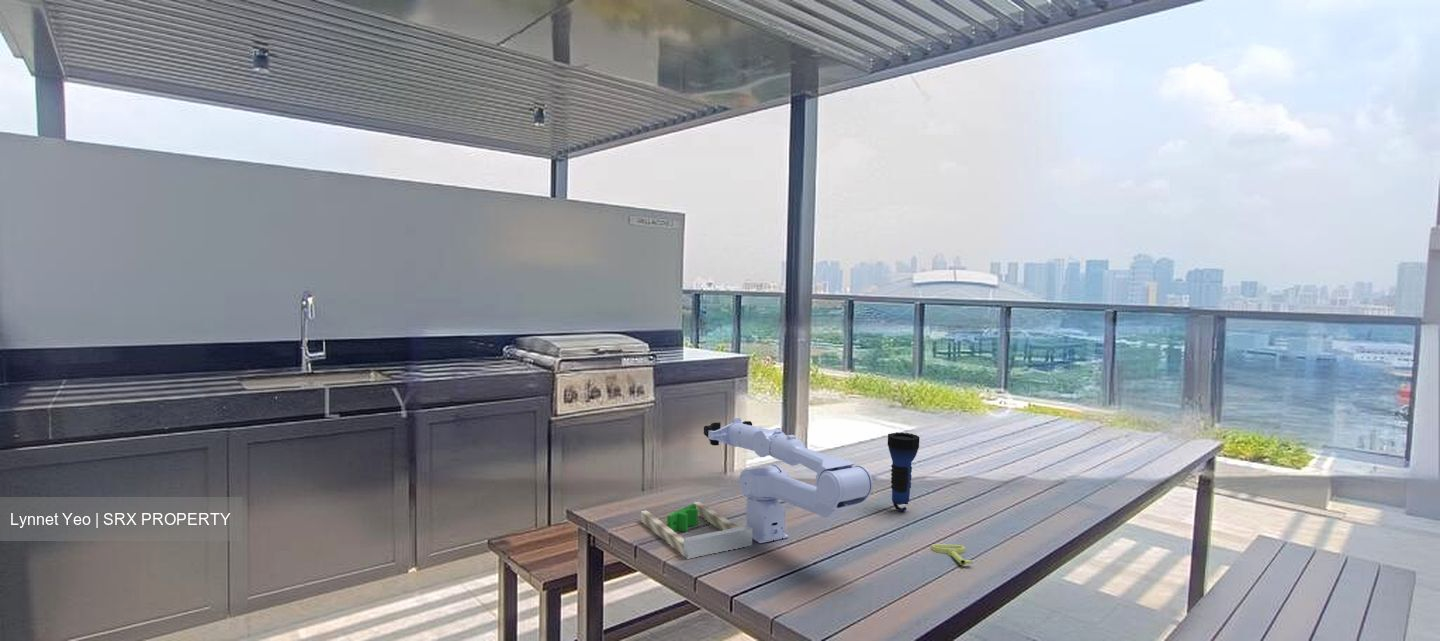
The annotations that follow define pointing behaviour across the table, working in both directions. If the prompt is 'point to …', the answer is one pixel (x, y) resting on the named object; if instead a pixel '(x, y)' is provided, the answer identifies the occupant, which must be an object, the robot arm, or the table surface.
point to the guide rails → (676, 539)
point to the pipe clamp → (683, 518)
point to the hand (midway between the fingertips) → (717, 429)
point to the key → (952, 552)
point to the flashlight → (902, 465)
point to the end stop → (717, 541)
